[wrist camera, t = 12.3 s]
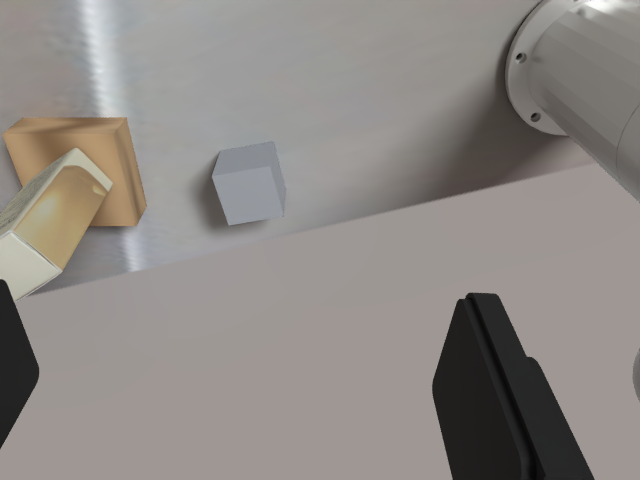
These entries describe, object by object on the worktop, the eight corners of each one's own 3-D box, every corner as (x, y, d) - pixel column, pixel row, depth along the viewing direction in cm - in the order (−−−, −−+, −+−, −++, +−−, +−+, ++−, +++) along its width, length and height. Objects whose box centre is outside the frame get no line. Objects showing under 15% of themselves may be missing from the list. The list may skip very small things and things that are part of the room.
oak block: (128, 115, 44) (113, 133, 41) (148, 203, 49) (136, 225, 46) (25, 115, 44) (2, 134, 40) (56, 203, 49) (37, 226, 46)
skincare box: (66, 215, 45) (1, 312, 35) (26, 180, 43) (-55, 274, 33) (118, 181, 43) (64, 274, 33) (78, 143, 41) (8, 231, 31)
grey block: (273, 140, 45) (270, 166, 41) (285, 188, 48) (283, 216, 44) (220, 150, 46) (211, 176, 41) (235, 196, 48) (228, 225, 44)
